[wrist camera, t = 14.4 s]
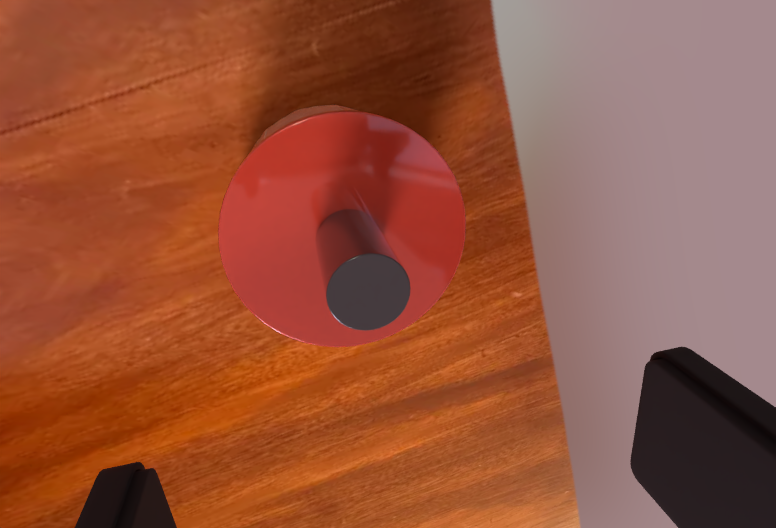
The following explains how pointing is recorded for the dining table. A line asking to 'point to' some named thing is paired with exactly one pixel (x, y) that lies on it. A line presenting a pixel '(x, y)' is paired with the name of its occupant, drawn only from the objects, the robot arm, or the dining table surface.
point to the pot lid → (341, 228)
